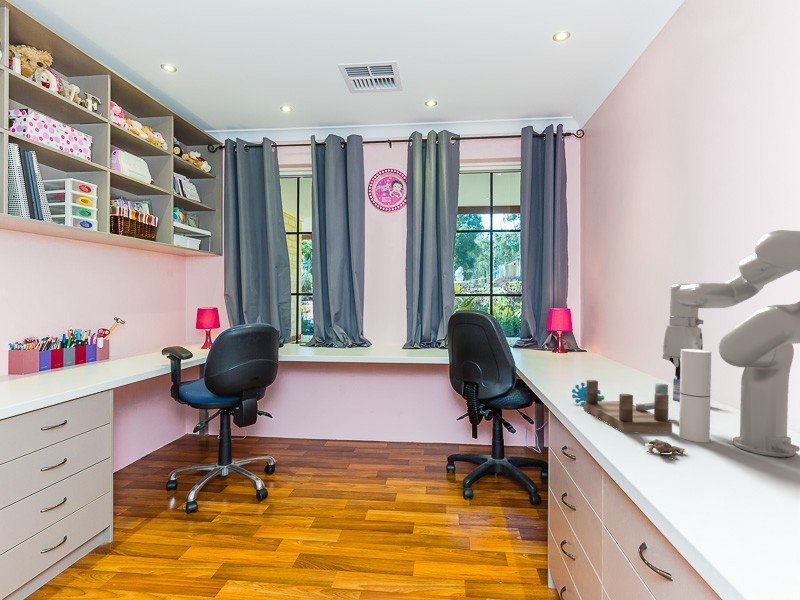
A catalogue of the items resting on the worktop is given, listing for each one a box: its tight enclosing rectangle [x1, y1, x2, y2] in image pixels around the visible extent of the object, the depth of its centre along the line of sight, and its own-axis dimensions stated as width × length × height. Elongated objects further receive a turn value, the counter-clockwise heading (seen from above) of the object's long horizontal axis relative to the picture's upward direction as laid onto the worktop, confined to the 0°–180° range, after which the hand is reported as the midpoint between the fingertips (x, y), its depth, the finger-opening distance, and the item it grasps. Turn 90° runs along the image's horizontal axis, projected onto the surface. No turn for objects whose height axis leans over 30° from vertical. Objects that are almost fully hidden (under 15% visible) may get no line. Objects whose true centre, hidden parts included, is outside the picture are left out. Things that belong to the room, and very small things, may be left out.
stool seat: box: [583, 379, 673, 433], centre depth 137 cm, size 24×15×11 cm, turn 3°
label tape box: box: [672, 376, 680, 402], centre depth 160 cm, size 9×4×12 cm, turn 28°
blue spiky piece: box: [571, 382, 605, 407], centre depth 158 cm, size 11×6×10 cm
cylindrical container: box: [678, 349, 712, 443], centre depth 121 cm, size 7×7×25 cm
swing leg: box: [635, 383, 669, 411], centre depth 140 cm, size 13×4×8 cm, turn 113°
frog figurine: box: [646, 439, 686, 460], centre depth 110 cm, size 12×12×4 cm
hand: (681, 379), depth 136 cm, fingers closed
